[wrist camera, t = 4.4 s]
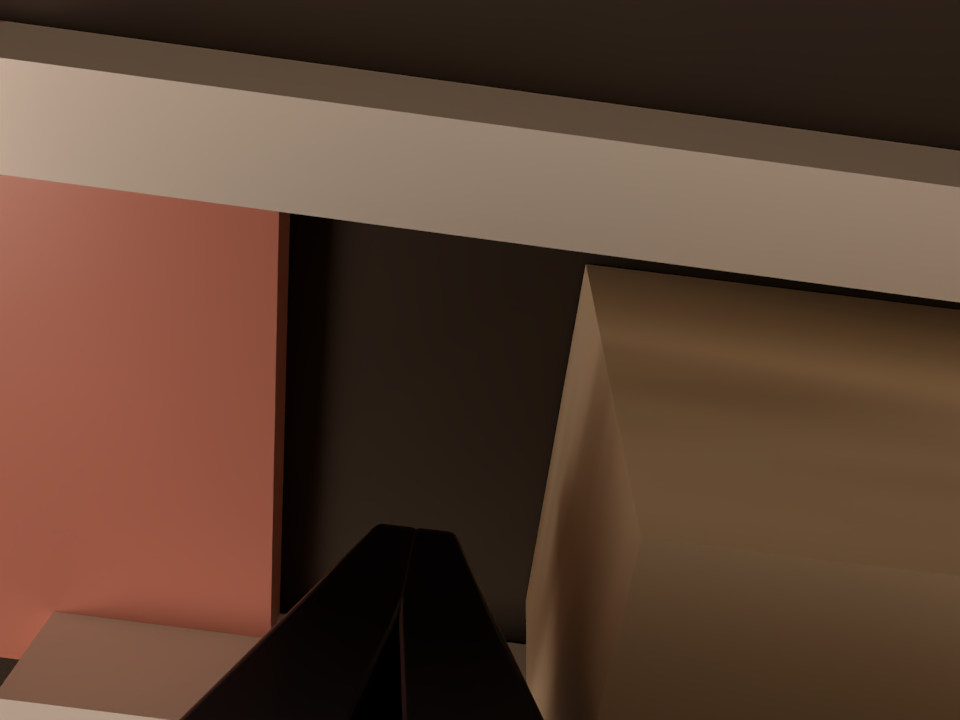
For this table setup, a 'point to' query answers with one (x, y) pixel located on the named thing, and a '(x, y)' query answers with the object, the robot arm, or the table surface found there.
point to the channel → (264, 303)
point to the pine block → (750, 508)
